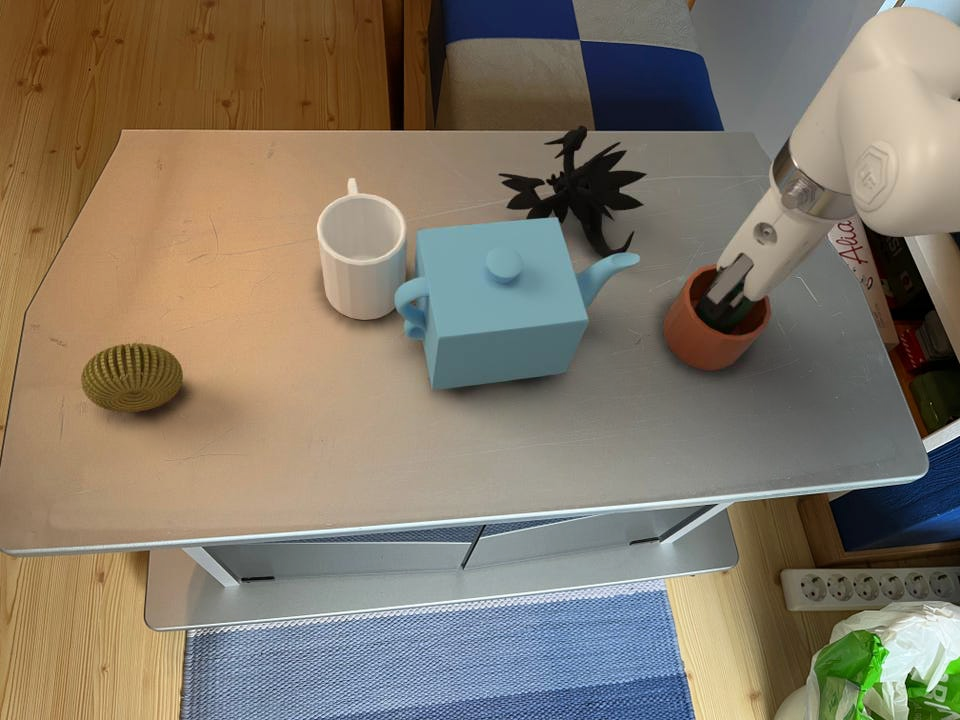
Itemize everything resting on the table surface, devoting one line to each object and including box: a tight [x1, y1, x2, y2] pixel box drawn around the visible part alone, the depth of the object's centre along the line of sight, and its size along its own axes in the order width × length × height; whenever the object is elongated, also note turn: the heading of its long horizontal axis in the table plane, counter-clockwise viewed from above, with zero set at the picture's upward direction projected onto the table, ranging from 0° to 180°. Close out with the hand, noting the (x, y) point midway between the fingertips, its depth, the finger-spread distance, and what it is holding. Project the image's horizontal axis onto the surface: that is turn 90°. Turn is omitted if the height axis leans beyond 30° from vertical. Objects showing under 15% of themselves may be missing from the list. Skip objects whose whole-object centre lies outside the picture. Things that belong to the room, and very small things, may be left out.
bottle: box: [694, 271, 757, 335], centre depth 72 cm, size 4×4×10 cm
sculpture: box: [80, 342, 184, 413], centre depth 64 cm, size 8×4×8 cm, turn 107°
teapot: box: [394, 216, 641, 391], centre depth 69 cm, size 22×11×14 cm, turn 101°
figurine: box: [497, 124, 648, 259], centre depth 78 cm, size 16×13×11 cm
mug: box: [316, 177, 408, 321], centre depth 73 cm, size 8×12×10 cm, turn 13°
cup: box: [662, 263, 772, 371], centre depth 75 cm, size 9×9×6 cm
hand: (728, 299), depth 72 cm, fingers closed on bottle, 4 cm apart
